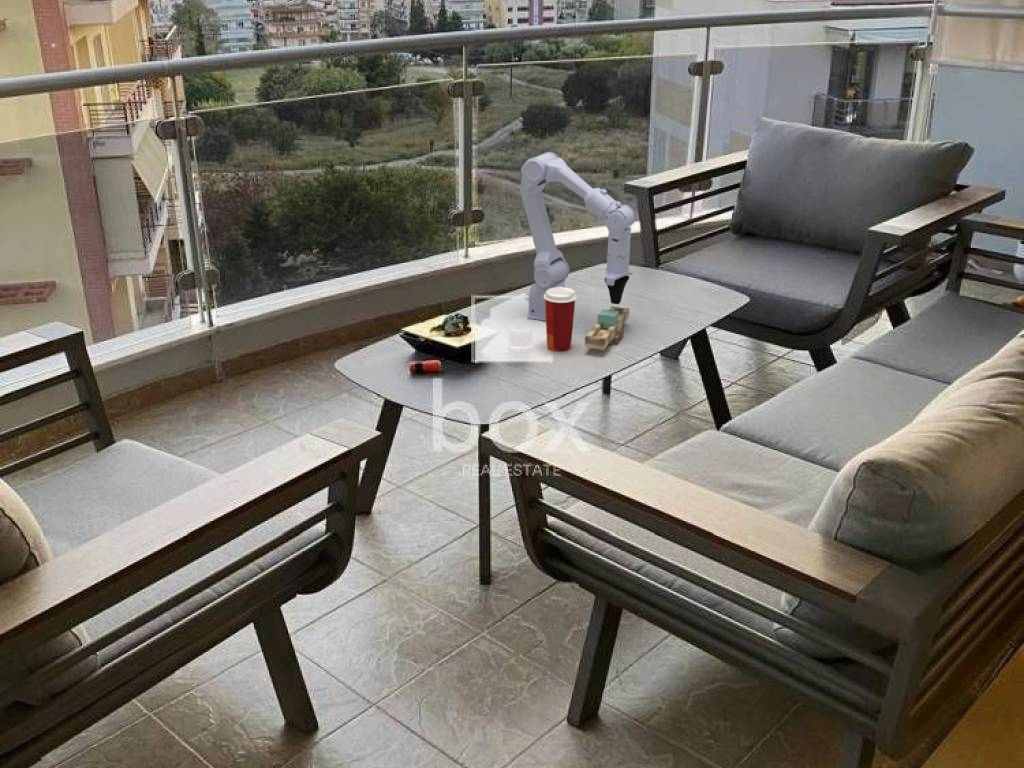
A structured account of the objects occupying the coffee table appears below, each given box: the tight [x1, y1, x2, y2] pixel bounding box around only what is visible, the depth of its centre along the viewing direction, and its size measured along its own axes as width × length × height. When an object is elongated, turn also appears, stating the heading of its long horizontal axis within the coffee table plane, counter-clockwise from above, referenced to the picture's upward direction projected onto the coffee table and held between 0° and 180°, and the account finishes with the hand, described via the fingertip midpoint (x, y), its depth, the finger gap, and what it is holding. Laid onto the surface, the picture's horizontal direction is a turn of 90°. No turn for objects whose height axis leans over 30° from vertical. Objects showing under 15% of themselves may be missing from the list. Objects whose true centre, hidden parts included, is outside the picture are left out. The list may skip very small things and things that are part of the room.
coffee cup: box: [544, 286, 578, 353], centre depth 255 cm, size 8×8×15 cm
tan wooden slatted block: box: [584, 305, 630, 351], centre depth 263 cm, size 24×7×5 cm, turn 159°
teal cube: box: [597, 308, 619, 329], centre depth 261 cm, size 4×4×4 cm
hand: (615, 303), depth 266 cm, fingers closed
